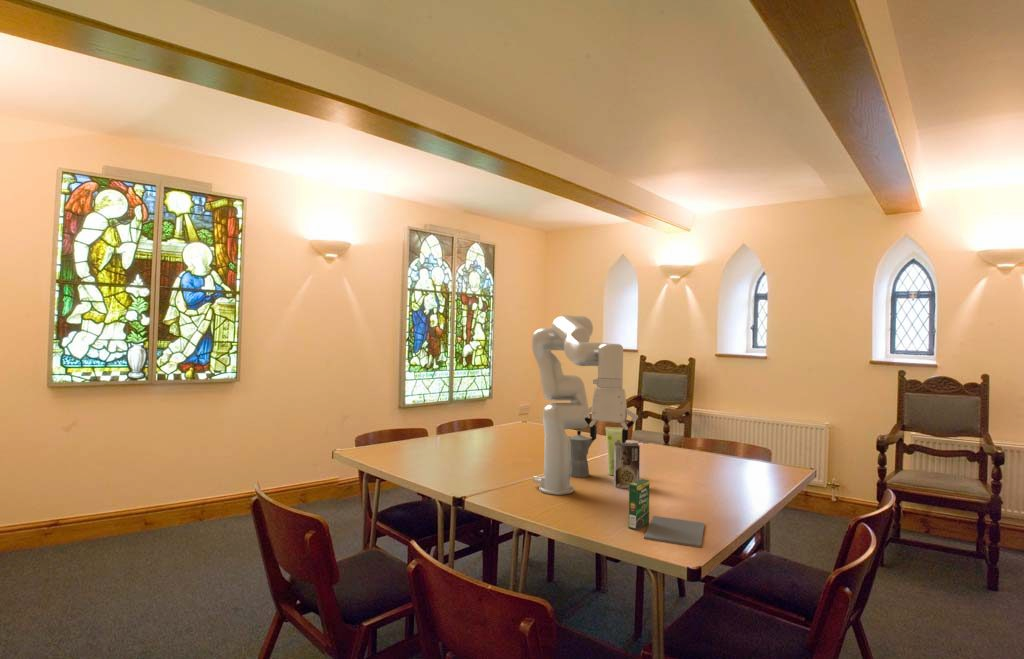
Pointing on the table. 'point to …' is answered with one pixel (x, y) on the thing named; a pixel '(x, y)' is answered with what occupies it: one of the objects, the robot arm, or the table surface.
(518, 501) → the table surface
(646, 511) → the coffee box
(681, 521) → the mat
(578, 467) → the coffeepot
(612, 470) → the tube
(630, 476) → the coffee box
